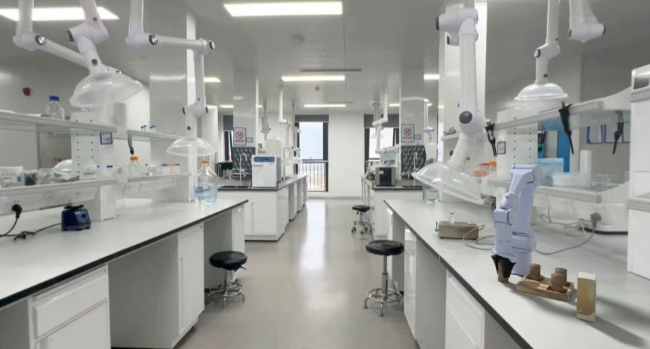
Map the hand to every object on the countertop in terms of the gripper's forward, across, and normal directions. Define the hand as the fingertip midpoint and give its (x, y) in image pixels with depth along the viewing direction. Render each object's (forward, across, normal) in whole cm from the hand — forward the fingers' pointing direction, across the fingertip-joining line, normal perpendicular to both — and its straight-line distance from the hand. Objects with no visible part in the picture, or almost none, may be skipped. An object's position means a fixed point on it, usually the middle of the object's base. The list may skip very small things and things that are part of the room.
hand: (503, 276), depth 130 cm
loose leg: (+2, 0, 0) cm, 2 cm away
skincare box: (+2, +31, +7) cm, 32 cm away
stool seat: (+2, +9, +10) cm, 14 cm away
